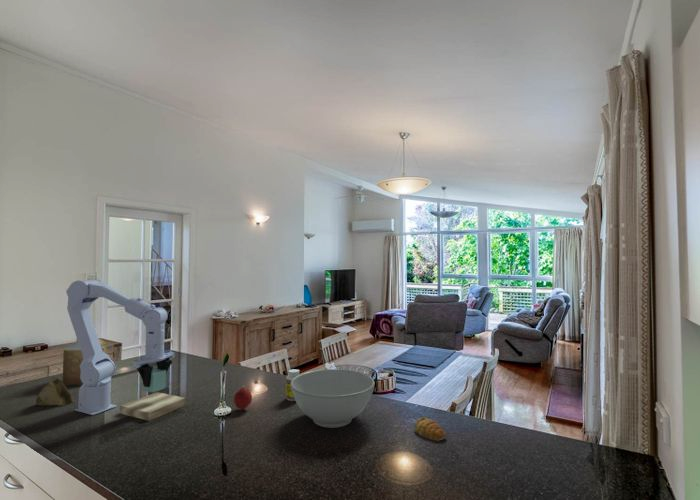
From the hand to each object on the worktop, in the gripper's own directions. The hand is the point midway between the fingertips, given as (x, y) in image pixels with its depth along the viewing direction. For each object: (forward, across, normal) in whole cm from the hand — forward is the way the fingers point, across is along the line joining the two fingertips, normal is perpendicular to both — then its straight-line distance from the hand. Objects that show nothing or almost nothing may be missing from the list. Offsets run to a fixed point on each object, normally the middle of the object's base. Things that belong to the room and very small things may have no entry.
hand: (154, 384), depth 125 cm
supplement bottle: (+9, +28, -38) cm, 48 cm away
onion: (+9, +12, -28) cm, 32 cm away
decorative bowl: (+9, +18, -59) cm, 62 cm away
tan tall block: (+9, +9, +53) cm, 54 cm away
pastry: (+9, +21, -89) cm, 92 cm away
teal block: (+2, 0, 0) cm, 2 cm away
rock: (+9, -11, +36) cm, 39 cm away
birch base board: (+8, 0, 0) cm, 8 cm away
